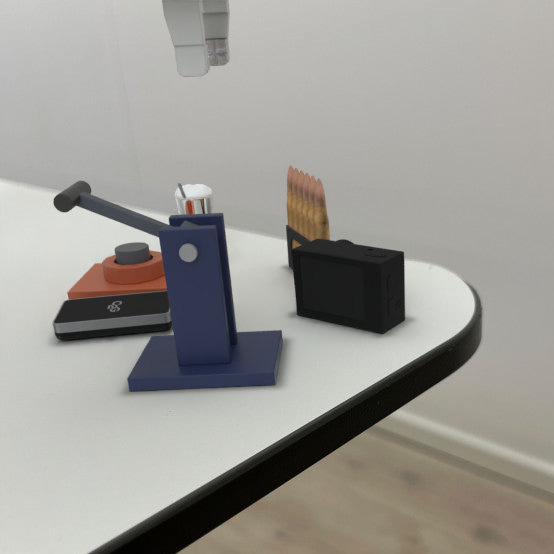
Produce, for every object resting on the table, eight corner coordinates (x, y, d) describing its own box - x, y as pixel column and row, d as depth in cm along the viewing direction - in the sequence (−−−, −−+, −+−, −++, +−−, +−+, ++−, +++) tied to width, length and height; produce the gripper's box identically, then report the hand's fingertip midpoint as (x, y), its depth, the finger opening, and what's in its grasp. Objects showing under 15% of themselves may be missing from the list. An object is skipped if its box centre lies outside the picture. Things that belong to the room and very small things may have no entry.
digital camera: (413, 315, 76) (412, 247, 73) (383, 334, 72) (381, 262, 69) (328, 298, 81) (324, 234, 78) (296, 315, 77) (291, 247, 74)
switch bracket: (129, 391, 63) (101, 239, 57) (153, 347, 71) (130, 211, 66) (275, 385, 63) (260, 232, 58) (282, 341, 71) (270, 204, 66)
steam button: (113, 268, 82) (110, 252, 81) (121, 258, 85) (119, 242, 84) (146, 266, 82) (144, 250, 81) (154, 256, 85) (151, 241, 84)
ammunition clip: (288, 266, 92) (280, 164, 87) (302, 263, 93) (295, 163, 88) (320, 292, 83) (313, 181, 78) (336, 289, 84) (330, 179, 79)
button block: (71, 312, 80) (63, 275, 79) (98, 281, 90) (91, 248, 88) (185, 306, 81) (179, 270, 79) (200, 276, 90) (196, 243, 88)
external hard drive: (68, 318, 79) (64, 299, 78) (177, 307, 80) (174, 289, 80) (55, 344, 73) (51, 324, 72) (174, 332, 74) (171, 313, 73)
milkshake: (173, 263, 95) (161, 182, 90) (194, 251, 99) (184, 173, 95) (206, 265, 93) (196, 183, 89) (226, 253, 98) (217, 174, 94)
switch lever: (49, 214, 59) (57, 185, 58) (70, 199, 63) (77, 172, 62) (201, 271, 61) (210, 244, 60) (211, 253, 65) (220, 228, 64)
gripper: (163, -144, 55) (188, 62, 61) (73, -220, 37) (121, 86, 42) (250, -147, 55) (267, 59, 61) (205, -225, 37) (235, 81, 42)
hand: (206, 70), depth 52 cm, fingers open, 8 cm apart
